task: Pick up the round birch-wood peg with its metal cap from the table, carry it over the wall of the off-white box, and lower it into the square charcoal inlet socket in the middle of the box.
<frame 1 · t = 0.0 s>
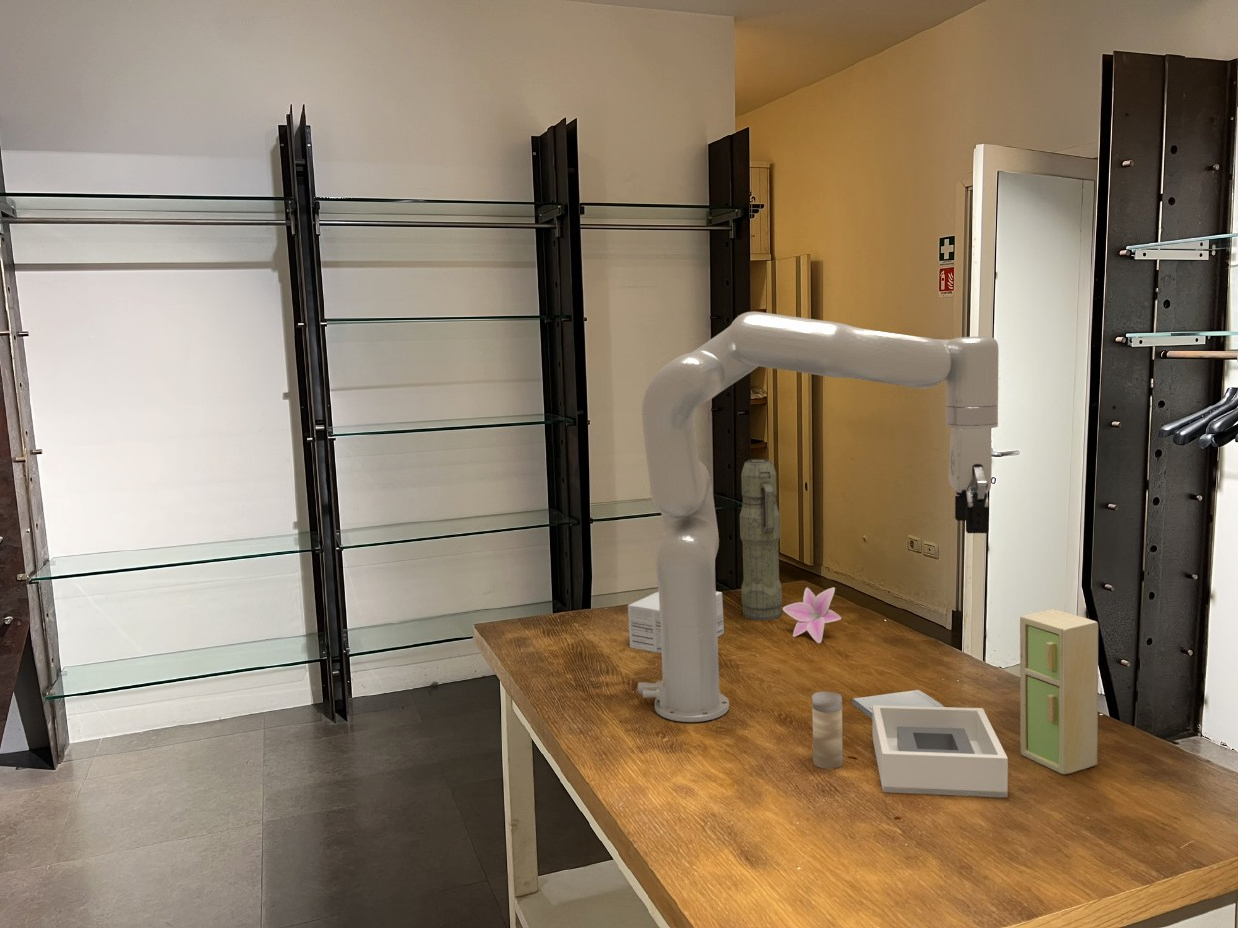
hand: (971, 526, 147), 31 cm above the table, tool pointing down, fingers open, 9 cm apart
hard drive: (897, 711, 156), on the table
peg: (828, 762, 137), on the table
thermos: (762, 615, 211), on the table
toy refrigerator: (1055, 761, 135), on the table
walled box: (935, 766, 134), on the table
lily: (813, 636, 195), on the table
supplement box: (677, 642, 196), on the table
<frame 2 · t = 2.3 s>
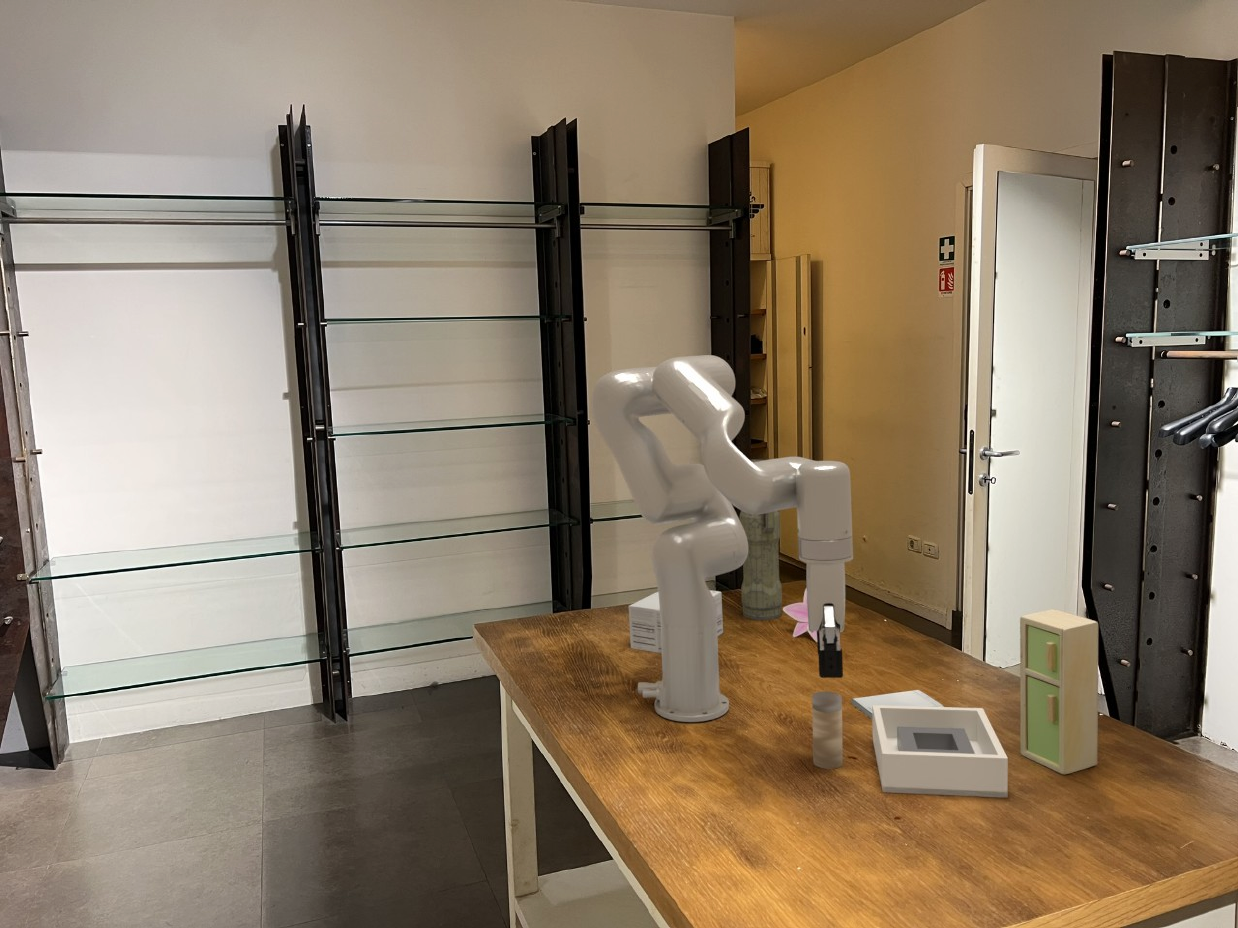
hand: (829, 665, 135), 15 cm above the table, tool pointing down, fingers open, 9 cm apart
nothing on the table moved.
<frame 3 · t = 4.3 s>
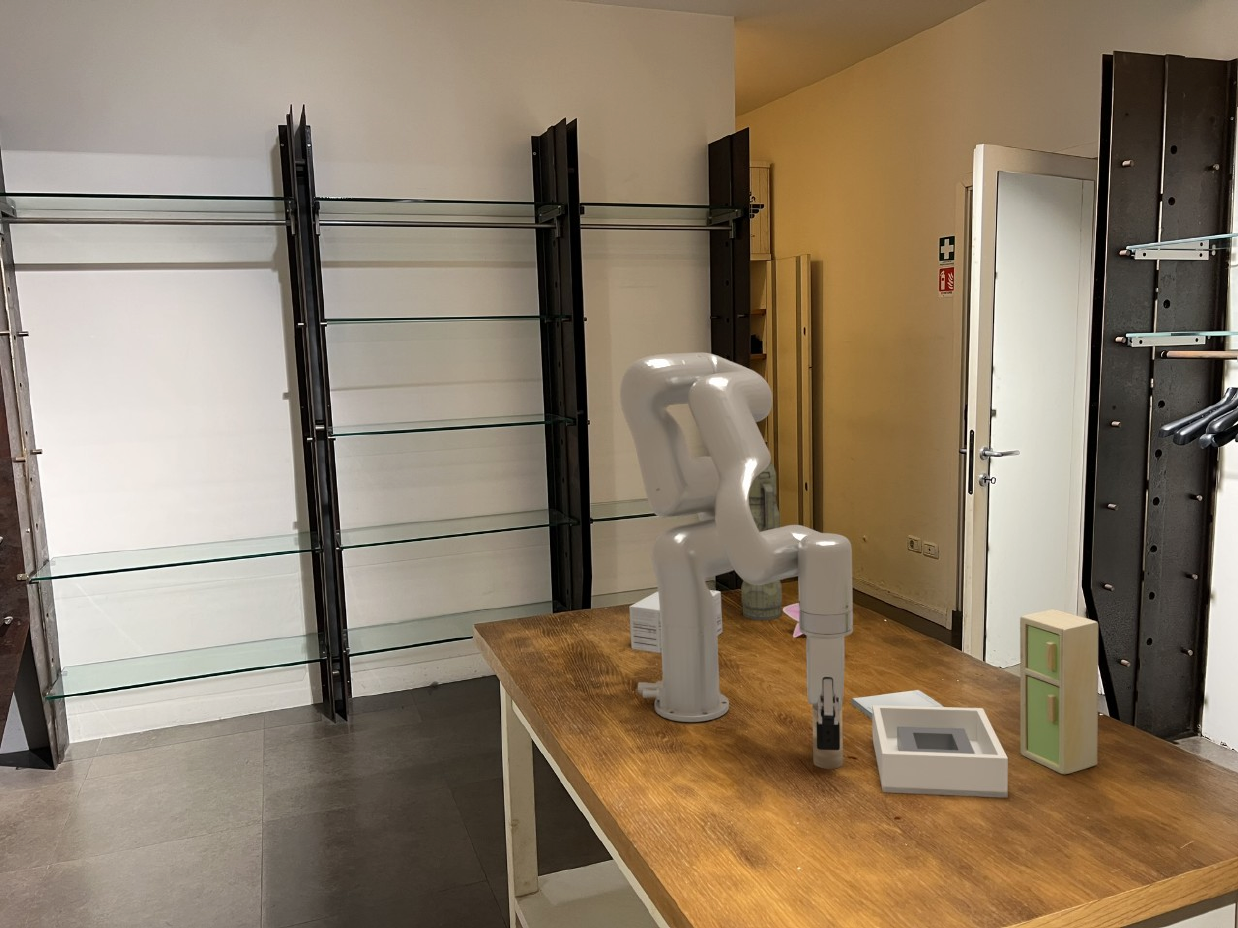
hand: (827, 740, 137), 3 cm above the table, tool pointing down, fingers closed on peg, 4 cm apart
peg: (828, 762, 137), on the table, touching gripper
everything else where it was.
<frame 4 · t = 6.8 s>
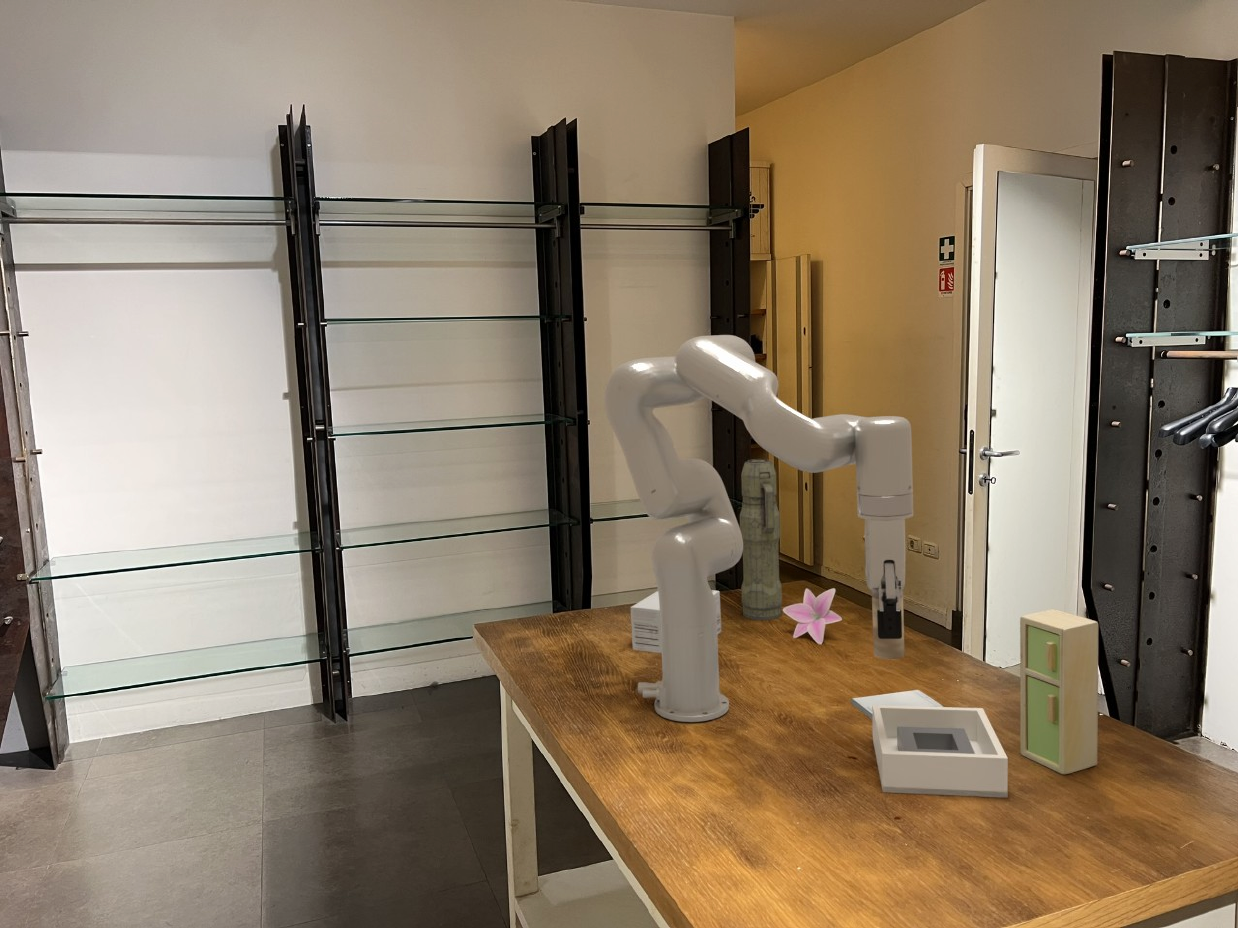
hand: (888, 631, 133), 20 cm above the table, tool pointing down, fingers closed on peg, 4 cm apart
peg: (889, 654, 133), point 17 cm above the table, touching gripper
everything else where it was.
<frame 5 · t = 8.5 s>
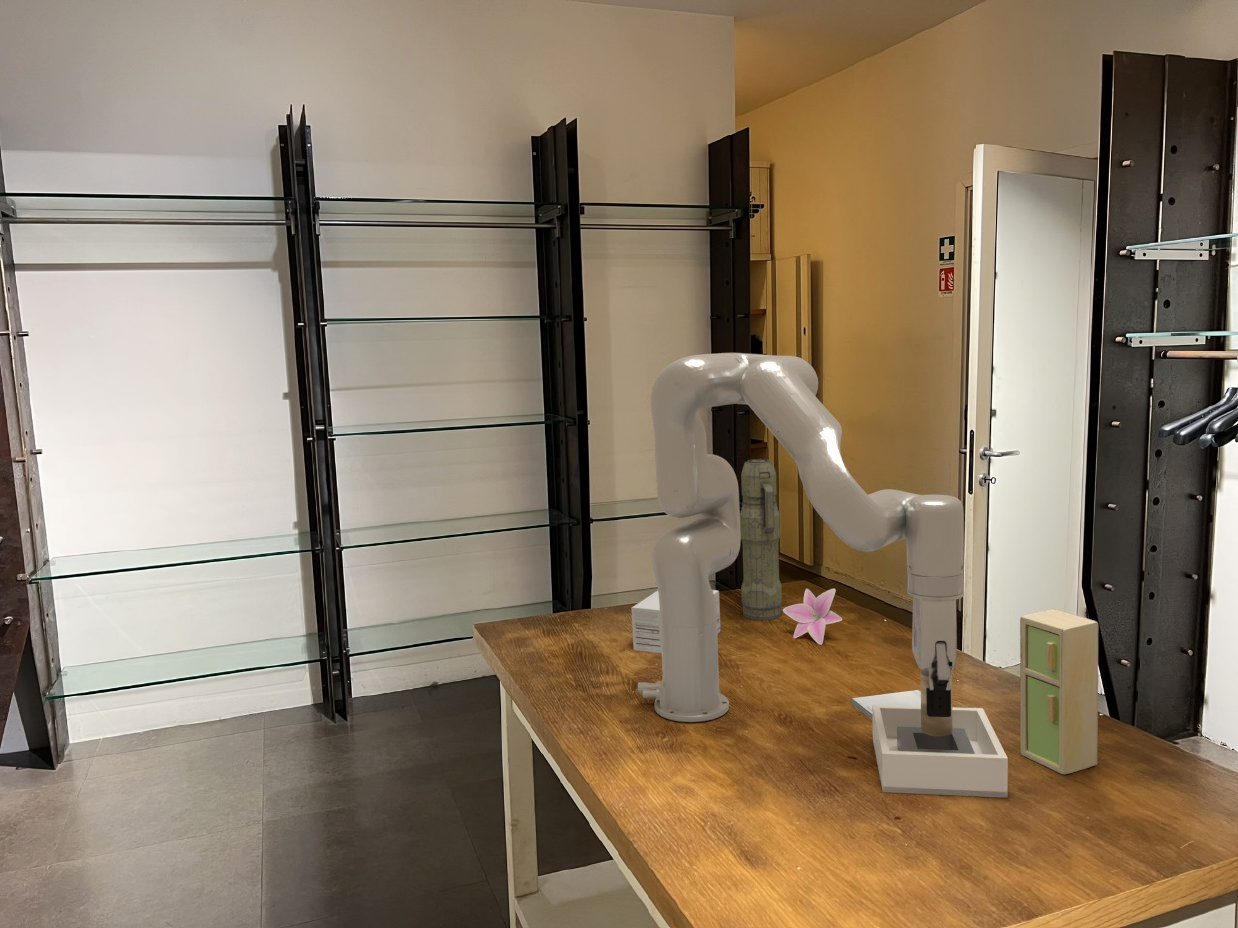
hand: (936, 707, 133), 9 cm above the table, tool pointing down, fingers closed on peg, 4 cm apart
peg: (936, 730, 133), point 5 cm above the table, touching gripper
everything else where it was.
when the fingers open (5 cm above the table, at t = 9.6 s): peg stays where it is, resting on walled box.
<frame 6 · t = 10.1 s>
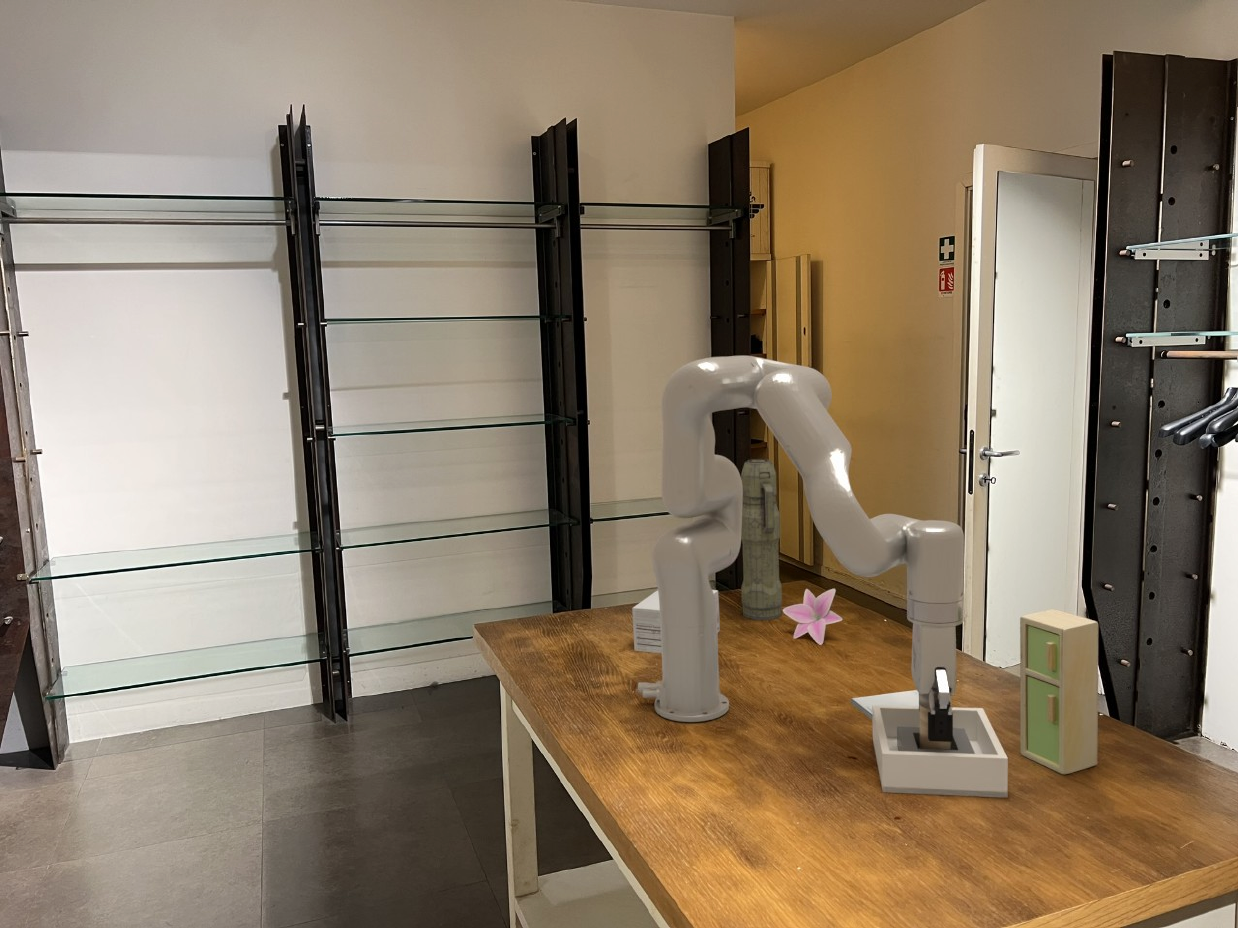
hand: (935, 726, 133), 6 cm above the table, tool pointing down, fingers open, 9 cm apart
peg: (935, 761, 134), point 1 cm above the table, touching walled box
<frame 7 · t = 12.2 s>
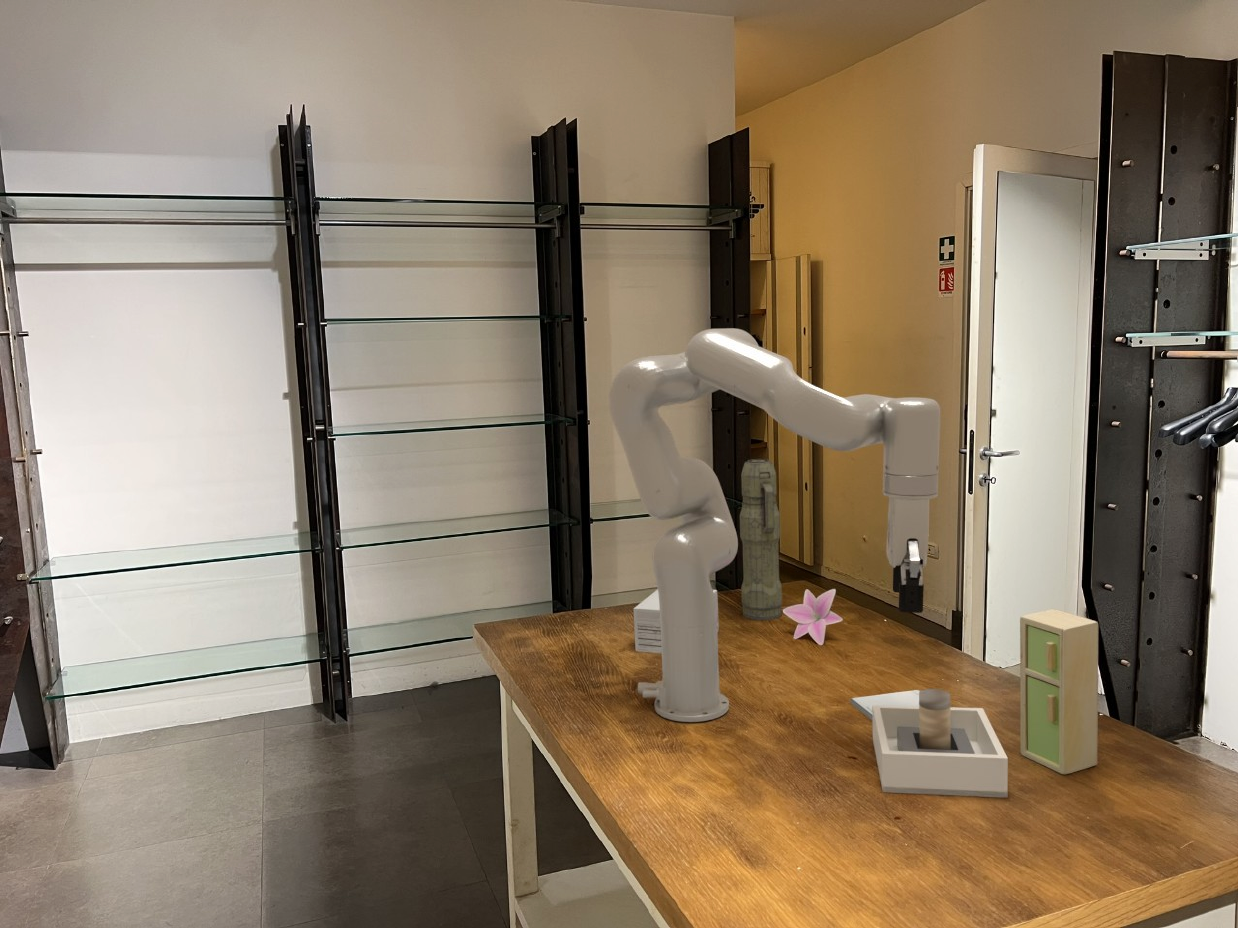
hand: (907, 601, 135), 23 cm above the table, tool pointing down, fingers open, 9 cm apart
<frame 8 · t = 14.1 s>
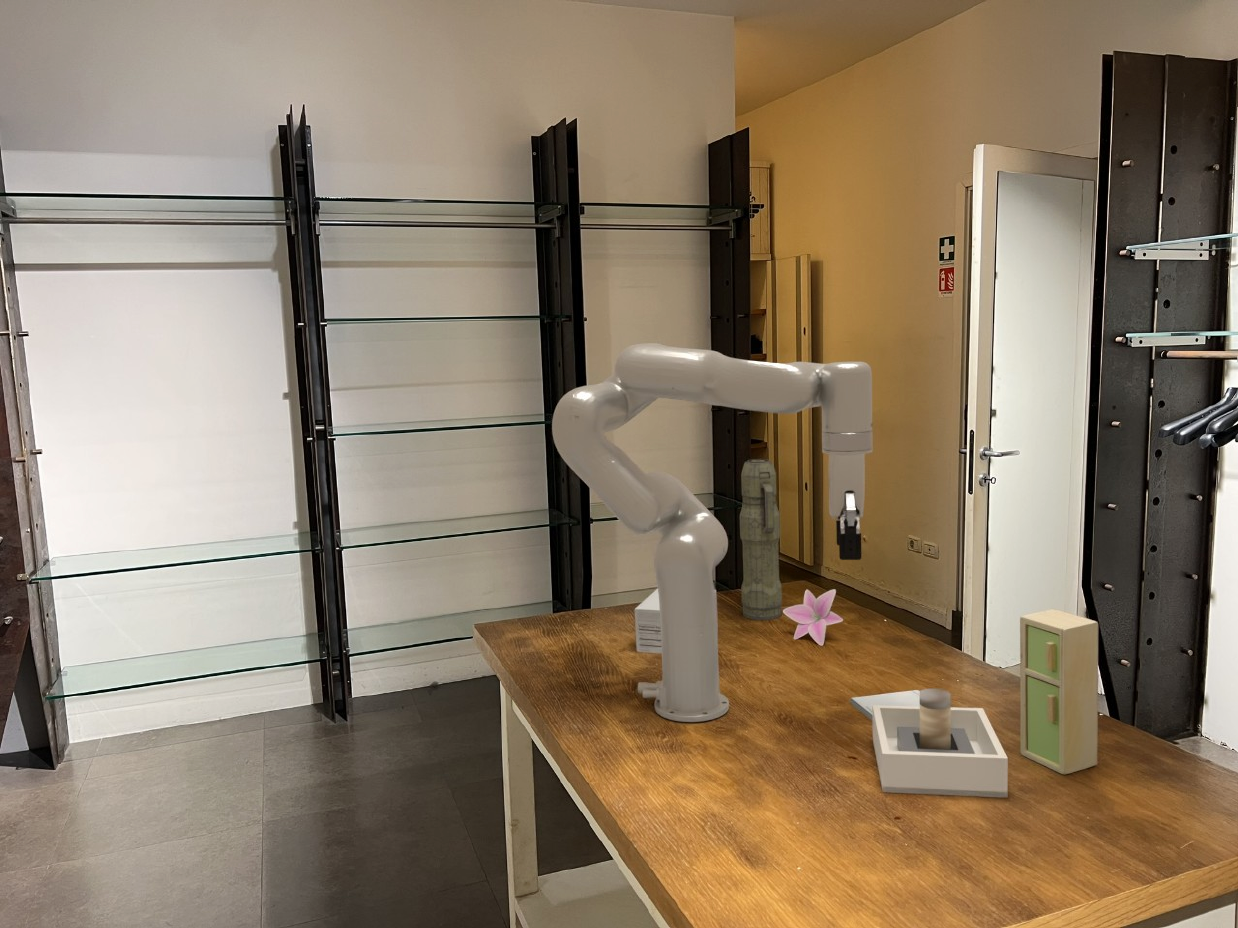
hand: (848, 551, 146), 28 cm above the table, tool pointing down, fingers open, 9 cm apart
at the end: peg 0.0 cm off-centre on the walled box, point 0.8 cm above the walled box's base; peg tilted 1°; the gripper is holding nothing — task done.
